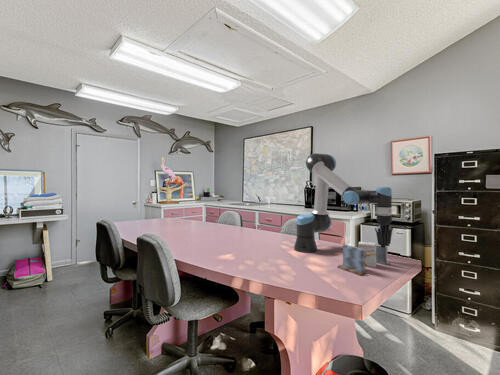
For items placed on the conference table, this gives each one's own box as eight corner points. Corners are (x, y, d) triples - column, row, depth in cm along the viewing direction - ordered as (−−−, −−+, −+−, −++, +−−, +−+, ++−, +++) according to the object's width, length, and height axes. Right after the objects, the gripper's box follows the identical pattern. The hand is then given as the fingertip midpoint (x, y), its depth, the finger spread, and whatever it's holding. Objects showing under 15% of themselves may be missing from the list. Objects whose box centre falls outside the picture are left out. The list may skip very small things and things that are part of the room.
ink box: (376, 264, 138) (376, 242, 138) (376, 267, 134) (376, 244, 134) (359, 262, 142) (359, 241, 142) (358, 265, 138) (358, 243, 138)
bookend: (368, 260, 146) (368, 244, 146) (373, 259, 148) (373, 243, 148) (385, 265, 137) (385, 248, 137) (390, 263, 139) (390, 247, 139)
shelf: (337, 267, 137) (337, 244, 137) (371, 260, 150) (371, 239, 150) (360, 275, 125) (360, 250, 125) (394, 266, 138) (394, 244, 138)
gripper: (382, 216, 138) (383, 260, 138) (397, 214, 144) (398, 257, 145) (370, 214, 145) (370, 257, 145) (385, 213, 151) (385, 254, 151)
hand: (384, 257), depth 145 cm, fingers closed
